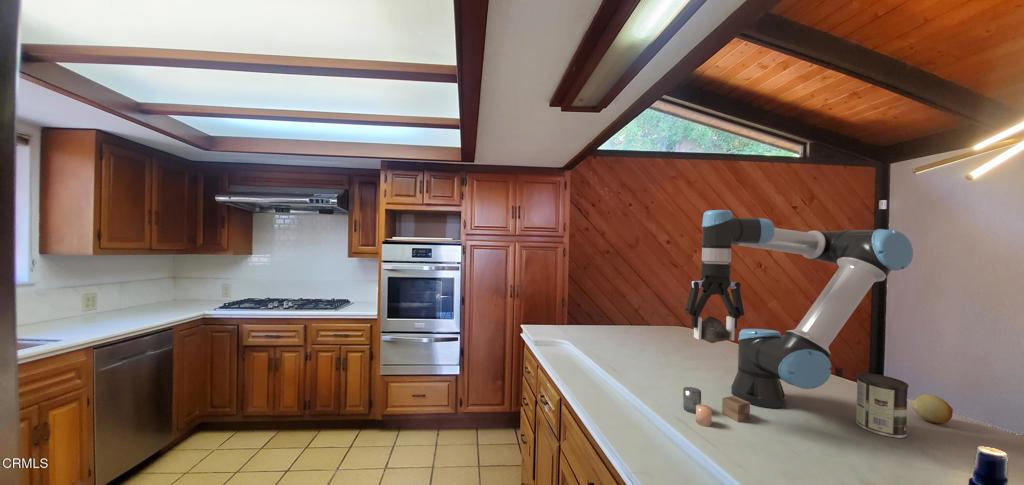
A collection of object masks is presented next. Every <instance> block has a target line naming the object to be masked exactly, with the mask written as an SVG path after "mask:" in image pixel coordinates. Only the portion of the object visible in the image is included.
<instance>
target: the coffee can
mask: <svg viewBox="0 0 1024 485" xmlns="http://www.w3.org/2000/svg"><path fill="white" fill-rule="evenodd" d="M856 378H857V380H856V416H855V423H856V425H857V426H859V427H860V428H862V429H864V430H866V431H868V432H871V433H872V434H873V433H874V434H877V435H880V436H883V437H890V438H894V439H895V438H897V439H904V438H906V437H907V436H908V434H907V427H908V426H907V425H908V424H907V415H908V389H909V384H908V383H907V382H905V381H903V380H902V379H901V380H900V379H898V378H894V377H891V376H887V375H882V374H878V373H877V374H876V373H871V372H869V373H867V372H866V373H865V372H860V373H857V374H856Z"/></svg>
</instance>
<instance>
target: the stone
mask: <svg viewBox="0 0 1024 485" xmlns="http://www.w3.org/2000/svg"><path fill="white" fill-rule="evenodd" d="M694 339H696V338H694ZM696 340H697V341H699V340H698V339H696ZM701 340H703V341H706V342H708V343H710V344H715V343H718V342H725V341H728V340H729V333H728V331H727V329H726V326H725V325H724V323H723V322H722V321H721V320H720V319H718V318H716V317H714V316H707V317H706V318H704V319H702V328H701Z"/></svg>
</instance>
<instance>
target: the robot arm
mask: <svg viewBox="0 0 1024 485" xmlns="http://www.w3.org/2000/svg"><path fill="white" fill-rule="evenodd" d="M701 223H702V224H701V228H702V229H701V230H702V234H701V236H702V237H701V238H702V239H701V261H702V263H701V266H700V267H701V268H700V270H701V272H700V274H701V278H700V280H690V290H689V295H688V298H687V302H686V306H685V311H684V312H685V314H687V315H690V316H691V327H692V328H693V338H694V339H695V338H696V340H697V339H698V340H697V341H702V339H701V328H702V321H703V318H702V317H701V313H702V311H703V310H704V308H705V306H706V304H707V302H708V300H709V299H710V298H711V296H713V295H718V296H719V297H720V298H721V300H722V302H723V304H724V307H725V309H726V311H727V313H728V316H727V315H726V319H725V320H726V323H725V325H726V326H725V327H726V329H727V331H728V333H729V339H728V340H729V341H731V342H732V341H733V342H734V341H735V330H736V329H737V328H738V319H740V318H741V316H742V317H743V316H745V310H744V305H743V299H742V295H741V285H742V284H741V282H738V281H731V280H730V277H731V272H732V268H731V264H729V263H730V262H732V245H733V246H734V245H735V246H742V247H746V248H747V247H749V248H753V249H762V250H769V251H774V252H782V253H790V254H795V255H796V254H797V255H802V257H804V258H806V259H808V260H816V261H820V262H823V263H829V264H832V265H838V269H837V270H836V272H835V273H834V274H833V275H832V277H831V279H830V280H829V281H828V283H827V284H826V285H825V287H824V288H823V290H822V291H821V293H820V294H819V295H818V296H817V298H816V299H815V301H814V302H813V304H812V305H811V306H810V308H809V310H808V311H807V312H806V314H805V315H804V316H803V318H802V319H801V320H800V322H799V323H798V325H797V326H796V327H795V328H793V329H790V330H786V331H785V333H784V334H783V335H782V334H781V332H780V331H778V330H773V329H763V328H743V329H741V330H740V331H739V333H738V340H737V341H738V348H737V349H738V353H737V354H738V356H737V372H736V375H735V376H734V380H733V383H732V384H731V388H730V389H731V390H730V392H731V396H736V397H738V398H740V399H743V400H745V401H747V402H750V405H754V406H756V407H757V406H758V407H762V408H770V409H780V408H784V407H785V406H786V404H787V401H786V400H787V397H786V394H785V391H784V388H783V385H782V382H781V380H782V381H783V382H784V383H786V384H788V385H791V386H794V387H796V388H800V389H802V390H803V389H804V390H810V389H811V390H812V389H816V388H820V387H821V386H823V385H824V384H825V383H826V382H827V381H828V380H829V379H830V377H831V374H832V369H831V368H832V363H831V360H830V358H831V355H832V354H831V351H830V349H829V347H830V345H831V344H832V343H833V341H834V339H835V338H836V337H837V335H838V334H839V332H840V331H841V330H842V328H843V327H844V326H845V324H846V323H847V321H848V320H849V318H850V317H851V316H852V314H853V313H854V311H856V309H857V307H858V306H859V305H860V304H861V302H862V300H863V299H864V297H865V296H866V295H867V293H868V292H869V291H870V289H871V288H872V286H873V284H874V283H876V282H883V281H885V279H886V278H887V277H888V276H889V274H890V273H892V271H901V270H904V269H906V268H907V267H909V266H910V265H911V263H912V261H913V257H914V249H913V246H912V242H911V240H910V239H909V238H908V237H907V235H905V234H904V233H903V232H901V231H898V230H894V229H884V228H878V229H855V230H854V229H853V230H849V229H848V230H847V229H845V230H832V231H831V230H830V231H829V230H828V231H827V230H826V231H820V230H809V231H807V232H806V231H800V230H792V229H785V228H781V227H780V228H779V227H775V225H774V224H773V221H772V220H770V219H767V218H761V217H756V218H755V217H734V216H733V212H732V211H731V210H727V209H714V210H712V209H711V210H705V212H704V213H703V216H702V222H701ZM701 287H702V290H701V291H700V288H701ZM729 288H730V293H729V290H728V289H729ZM699 292H700V295H699ZM730 294H731V297H730ZM731 298H732V299H731Z"/></svg>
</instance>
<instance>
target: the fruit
mask: <svg viewBox="0 0 1024 485" xmlns="http://www.w3.org/2000/svg"><path fill="white" fill-rule="evenodd" d="M911 407H912V409H913V411H914V412H915V414H916V415H917V416H918V417H919V418H922V419H923V420H925V421H926V422H930V423H933V424H938V425H944V424H947V423H948V422H950V420H951V419H952V418H953V413H954V412H953V411H954V408H952V406H951V405H950V404H949V403H948V402H947V401H946V400H944V399H943V398H941V397H939V396H937V395H933V394H927V393H923V394H921V395H919V396H917V397H916V399H914V400H913V401H912V406H911Z"/></svg>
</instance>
